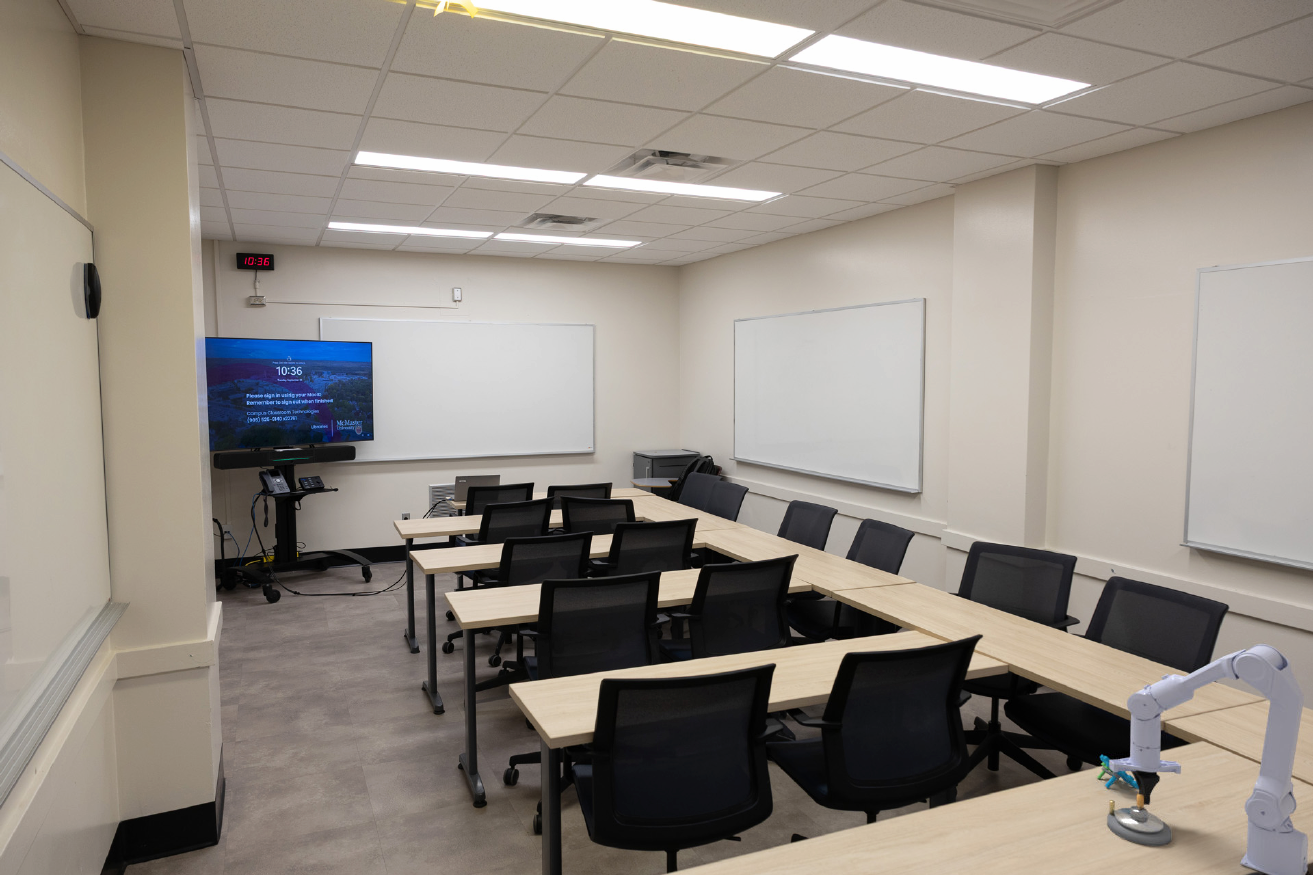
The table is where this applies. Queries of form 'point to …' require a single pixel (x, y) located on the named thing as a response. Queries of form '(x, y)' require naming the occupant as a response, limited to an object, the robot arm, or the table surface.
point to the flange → (1139, 818)
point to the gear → (1115, 774)
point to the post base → (1136, 836)
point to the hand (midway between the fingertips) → (1144, 802)
